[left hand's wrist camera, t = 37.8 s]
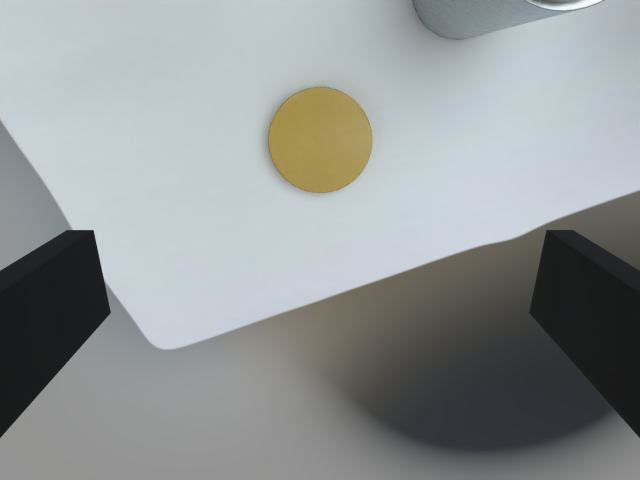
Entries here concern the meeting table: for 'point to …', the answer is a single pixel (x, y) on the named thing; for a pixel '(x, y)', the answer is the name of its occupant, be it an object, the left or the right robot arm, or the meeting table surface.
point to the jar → (488, 14)
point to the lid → (320, 140)
